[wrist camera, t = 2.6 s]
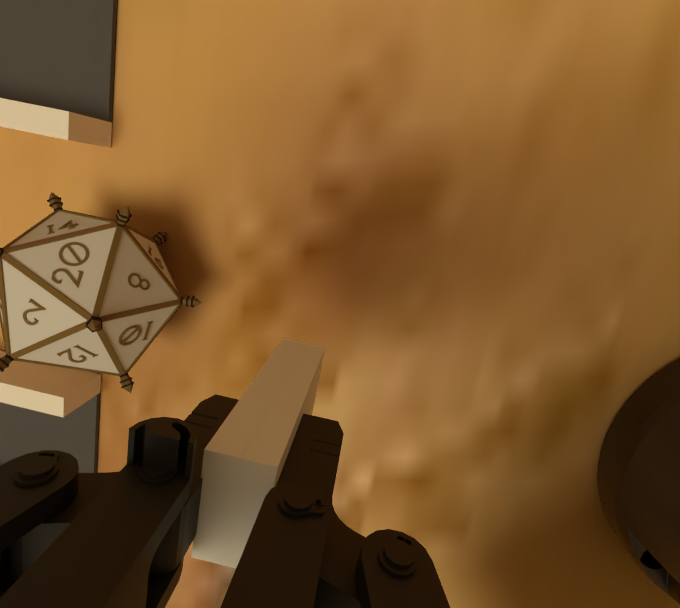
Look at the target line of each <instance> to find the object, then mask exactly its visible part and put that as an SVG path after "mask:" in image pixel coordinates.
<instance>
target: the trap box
mask: <svg viewBox="0 0 680 608" xmlns="http://www.w3.org/2000/svg"><path fill="white" fill-rule="evenodd" d="M0 126H1V127H6V128H11V129H16V130H21V131H26V132H31V133H36V134H41V135H46V136H50V137H55V138H60V139H65V140H71V141H76V142H82V143H88V144H94V145H100V146H106V147H111V135H112V123H111V122H107V121H103V120H100V119H96V118H92V117H88V116H84V115H80V114H77V113H73V112H69V111H64V110H59V109H54V108H49V107H44V106H39V105H34V104H29V103H24V102H19V101H14V100H8V99H3V98H0ZM5 355H6V352H4V351H0V358H1V357H4V356H5ZM100 387H101V374H97V373H92V372H88V371H82V370H75V369H68V368H62V367H55V366H48V365H41V364H34V363H28V362H21V361H12V362H11V363H10V364H9V367H8V368H7V367H6V368H5V369H4V372H0V402H2V403H6V404H10V405H14V406H18V407H22V408H26V409H30V410H34V411H39V412H43V413H47V414H51V415H55V416H59V417H65V416H66V415H68V414H69V413H71V412H72V411H74V410H75V409H77V408H78V407H80V406H81V405H83V404H84V403H85V402H87V401H88V400H90V399H91V398H93V397H94V396H96V395H97V394H99V393H100Z"/></svg>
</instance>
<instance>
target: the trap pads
mask: <svg viewBox="0 0 680 608" xmlns="http://www.w3.org/2000/svg"><path fill="white" fill-rule="evenodd" d="M116 20H117V0H0V98H3V99H8V100H14V101H19V102H24V103H29V104H34V105H39V106H44V107H49V108H54V109H59V110H64V111H69V112H73V113H77V114H80V115H84V116H88V117H92V118H96V119H100V120H103V121H107V122H111V123H112V112H113V89H114V66H115V43H116ZM99 410H100V393H99V394H97V395H96V396H94V397H93V398H91V399H90V400H88V401H87V402H85V403H84V404H83V405H81V406H80V407H78V408H77V409H75V410H74V411H72V412H71V413H69V414H68V415H66V416H65V417H59V416H55V415H51V414H47V413H43V412H39V411H34V410H30V409H26V408H22V407H18V406H14V405H10V404H6V403H2V402H0V465H2V464H4V463H6V462H8V461H10V460H12V459H14V458H17V457H19V456H22V455H25V454H27V453H32V452H37V451H42V450H59V451H62V452H66V453H69V454H71V455H72V456H73V457H75V458H76V459H77V461H78V466H79V473H97V456H98V433H99Z"/></svg>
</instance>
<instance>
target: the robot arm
mask: <svg viewBox="0 0 680 608" xmlns="http://www.w3.org/2000/svg"><path fill="white" fill-rule="evenodd" d="M324 350H325V347H322V346H317V345H313V344H308V343H304V342H299V341H295V340H290V339H286V338H283V339H282V340H281V341H280V343H279V344H278V346H277V347H276V349H275V350H274V351H273V353H272V354H271V356H270V357H269V358H268V360H267V361H266V363H265V364H264V366H263V367H262V368H261V370H260V371H259V373H258V374H257V375H256V377H255V378H254V380H253V381H252V383H251V384H250V385H249V387H248V388H247V390H246V391H245V392H244V394H243V395H242V397H241V398H240V400H237V399H233V398H228V397H224V396H220V395H214V396H212V397H210V398H208V399H206V400H204V401H202V402H200V403H199V405H198V406H197V407H196V408H195V409H194V410H193V411H192V414H190V415H189V416H188V417H187V418H186V419H185V420H184V421H183V420H180V419H178V418H169V417H160V418H151V419H148V420H144V421H141V422H139V423H137V424H135V425H134V426H132V427H131V428H129V440H128V456H127V465H126V466H125V467H124V468H123V469H122V470H121V471H120V472H110V473H79V466H78V461H77V459H76V458H75V457H73V456H72V455H71V454H69V453H66V452H62V451H59V450H42V451H37V452H32V453H27V454H25V455H22V456H19V457H17V458H14V459H12V460H10V461H8V462H6V463H4V464H2V465H0V608H165V606H166V604H167V602H168V600H169V598H170V597H171V595H172V593H173V591H174V589H175V587H176V585H177V583H178V581H179V579H180V575H181V572H182V567H183V558H184V555H185V553H186V552H187V550H188V548H189V546H190V544H191V543H192V541H193V548H192V557H193V558H196V559H200V560H204V561H208V562H212V563H216V564H220V565H224V566H228V567H232V568H236V570H235V573H234V575H233V578H232V580H231V583H230V585H229V588H228V590H227V593H226V595H225V598H224V600H223V603H222V605H221V608H450V606H449V603H448V601H447V598H446V595H445V593H444V590H443V588H442V585H441V582H440V580H439V577H438V574H437V572H436V569H435V566H434V564H433V561H432V559H431V558H430V556H429V554H428V553H427V551H426V549H425V548H424V547H423V546H422V545H421V544H420V543H419V542H418V541H416V540H415V539H414V538H412V537H410V536H408V535H407V534H405V533H403V532H399V531H395V530H390V529H386V530H378V531H375V532H374V533H372V534H370V535H369V536H367V537H364V536H362V535H360V534H358V533H356V532H355V531H353V530H352V529H350V528H349V527H347V526H346V525H345V524H344V523H343V522H342V521H341V520H340V519H339V518H338V516H337V514H336V513H335V511H334V508H333V505H332V495H333V489H334V484H335V478H336V473H337V467H338V461H339V456H340V450H341V445H342V439H343V431H342V429H341V427H340V425H339V423H338V421H334V420H329V419H325V418H321V417H316V416H312V411H313V406H314V401H315V396H316V391H317V386H318V381H319V376H320V371H321V366H322V361H323V355H324ZM598 490H599V496H600V501H601V504H602V507H603V510H604V513H605V515H606V517H607V519H608V521H609V523H610V525H611V527H612V528H613V530H614V531H615V533H616V534H617V536H618V537H619V539H620V540H621V542H622V543H623V545H624V546H625V548H626V549H627V551H628V552H629V554H630V555H631V557H632V558H633V559H634V561H635V562H636V563H637V565H638V566H639V567H640V568H641V569H642V570H643V572H644V573H645V574H646V575H647V576H648V577H649V578H650V579H651V580H652V581H653V582H654V583H655V584H656V585H658V586H659V587H660V588H661V589H662V590H664V591H665V592H666V593H667V594H668V595H670V596H671V597H672V598H673V599H674V600H676V601H677V602H678V603H679V604H680V359H679V360H677V361H676V362H674V363H672V364H671V365H669V366H668V367H666V368H664V369H663V370H662V371H660V372H659V373H657V374H656V375H655V376H653V377H652V378H651V379H650V380H649V381H647V382H646V383H645V384H644V385H643V386H642V387H641V388H640V389H639V390H638V391H637V392H636V393H635V394H634V395H633V396H632V397H631V398H630V399H629V400H628V402H627V403H626V404H625V405H624V407H623V408H622V409H621V411H620V412H619V414H618V415H617V417H616V418H615V420H614V422H613V423H612V425H611V427H610V429H609V431H608V433H607V436H606V438H605V441H604V444H603V446H602V450H601V454H600V459H599V464H598ZM193 539H194V540H193Z"/></svg>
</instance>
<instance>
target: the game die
mask: <svg viewBox="0 0 680 608" xmlns="http://www.w3.org/2000/svg"><path fill="white" fill-rule="evenodd" d="M47 201H48V202H49V203H50V205H49V206H50V207H52V208H53V209H54V212H53V213H51V214H50V215H48V216H47V217H46V218H44V219H43V220H41V221H40V222H39V223H37V224H36V225H34V226H33V227H31V228H30V229H29V230H27V231H26V232H24V233H23V234H22V235H20V236H19V237H17V238H16V239H15V240H13V241H12V242H10V243H9V244H7V245H6V246H5V247H3V248H0V322H1V328H2V333H3V339H4V345H5V350H6V355H5V356H4V357H1V358H0V372H4V369H5V368H6V367H7V368H8V367H9V364H10V363H11V362H12V361H21V362H28V363H34V364H41V365H48V366H55V367H62V368H68V369H75V370H82V371H89V372H96V373H102V374H109V375H116V376H120V379H121V382H120V383H121V385H122V387H121V388H124V389H125V390H127V391H128V392H130V393H131V391H132V387H133V383H134V382H132V380H131V379H132V378H130V377H129V375H128V372H129V371H130V369H131V368H132V367H133V366H134V364H135V363H136V362H137V361H138V359H139V358H140V357H141V355H142V354H143V353H144V352H145V350H146V349H147V348H148V347H149V345H150V344H151V343H152V341H153V340H154V339H155V338H156V336H157V335H158V334H159V333H160V331H161V330H162V329H163V328H164V326H166V324H167V322H168V321H169V320H170V319H171V317H172V316H173V315H174V314H175V312H176V311H177V310H178V308H179V307H180V306H181V305H182V304H184V305H186V306H191V307H194V306H196V305H198V304H200V303H202V302H200V301H199V300H198V299H196V298H195V297H194V296H193V297H189V296H187V297H182V296H181V294H180V292H179V290H178V288H177V285H176V283H175V281H174V279H173V277H172V275H171V273H170V271H169V269H168V266H167V264H166V262H165V260H164V258H163V256H162V254H161V252H160V249H159V247H158V244H160V243H161V244H162V242H163V241H166V239H165V238H166V233H160V232H158V234H157V235H155V236H154V237H153V238H154V239H153V240H152V239H151V238H149V237H147V236H145V235H143V234H142V233H140V232H138V231H136V230H135V229H133V228H131V227H129V226H127V225H126V224H125V223H127V222H128V221H129V220H130V219H129V218H130V217H131V216H132V215H131V214H130V211H129V208H128V206H127V207H125V208H123V209H121V210H117V212H118V214H116V218H117V221H115V220H110V219H106V218H101V217H96V216H91V215H87V214H82V213H77V212H72V211H67V210H63V209H62V205H63V202H61V198H59V197H58V196H56V195H55V194H54V193H52V192H51V195H50V197H49V200H47Z"/></svg>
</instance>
